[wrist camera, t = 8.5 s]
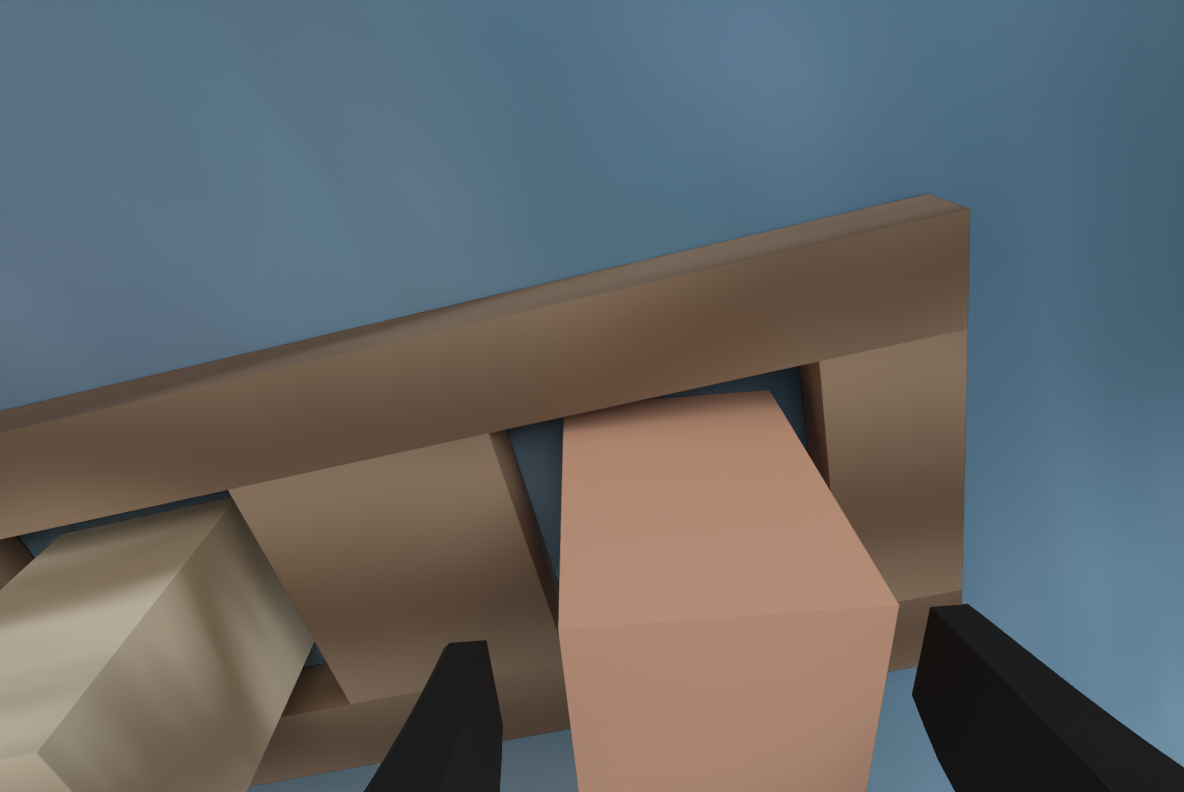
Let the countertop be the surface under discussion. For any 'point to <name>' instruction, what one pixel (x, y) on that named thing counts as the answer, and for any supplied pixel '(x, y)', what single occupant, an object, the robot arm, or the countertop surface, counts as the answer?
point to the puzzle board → (488, 464)
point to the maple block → (146, 657)
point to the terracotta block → (714, 604)
